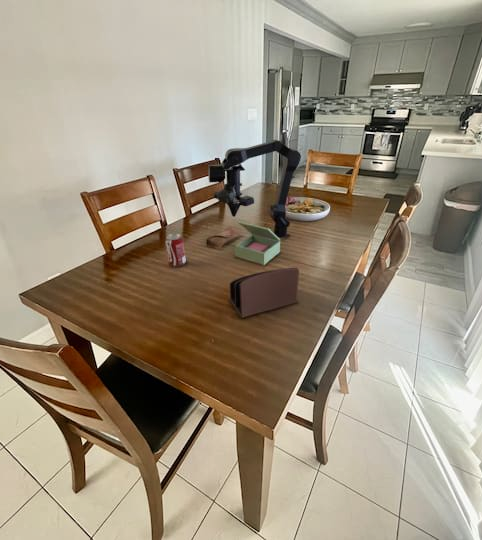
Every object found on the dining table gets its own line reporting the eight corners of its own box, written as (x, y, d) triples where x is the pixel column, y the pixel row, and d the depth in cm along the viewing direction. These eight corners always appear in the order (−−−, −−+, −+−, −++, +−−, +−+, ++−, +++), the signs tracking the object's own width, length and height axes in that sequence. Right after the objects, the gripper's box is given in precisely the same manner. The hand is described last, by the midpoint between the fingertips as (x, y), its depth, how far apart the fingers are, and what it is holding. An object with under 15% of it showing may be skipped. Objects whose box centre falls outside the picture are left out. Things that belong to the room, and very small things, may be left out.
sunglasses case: (220, 249, 130) (213, 235, 128) (210, 253, 134) (204, 239, 133) (243, 235, 142) (237, 222, 141) (233, 239, 147) (227, 226, 146)
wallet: (254, 246, 131) (254, 241, 130) (273, 252, 126) (274, 246, 125) (245, 252, 126) (245, 247, 125) (265, 258, 121) (265, 253, 120)
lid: (267, 229, 111) (268, 228, 112) (237, 222, 118) (238, 221, 118) (280, 241, 124) (280, 239, 124) (252, 234, 130) (252, 232, 130)
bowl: (336, 210, 173) (338, 197, 169) (317, 227, 151) (319, 212, 147) (289, 202, 187) (290, 190, 183) (266, 216, 165) (267, 203, 161)
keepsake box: (263, 266, 117) (264, 253, 114) (235, 257, 124) (235, 245, 121) (279, 253, 127) (280, 241, 124) (252, 245, 133) (252, 234, 131)
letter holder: (297, 302, 97) (300, 265, 89) (241, 319, 90) (240, 280, 83) (282, 287, 104) (284, 252, 97) (230, 301, 98) (228, 264, 90)
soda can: (189, 260, 122) (185, 234, 116) (180, 268, 116) (176, 241, 110) (174, 258, 124) (170, 232, 118) (166, 266, 118) (161, 238, 112)
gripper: (204, 181, 124) (206, 216, 132) (238, 189, 114) (238, 226, 122) (221, 176, 131) (223, 210, 139) (255, 183, 121) (254, 219, 129)
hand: (233, 216), depth 132 cm, fingers closed
